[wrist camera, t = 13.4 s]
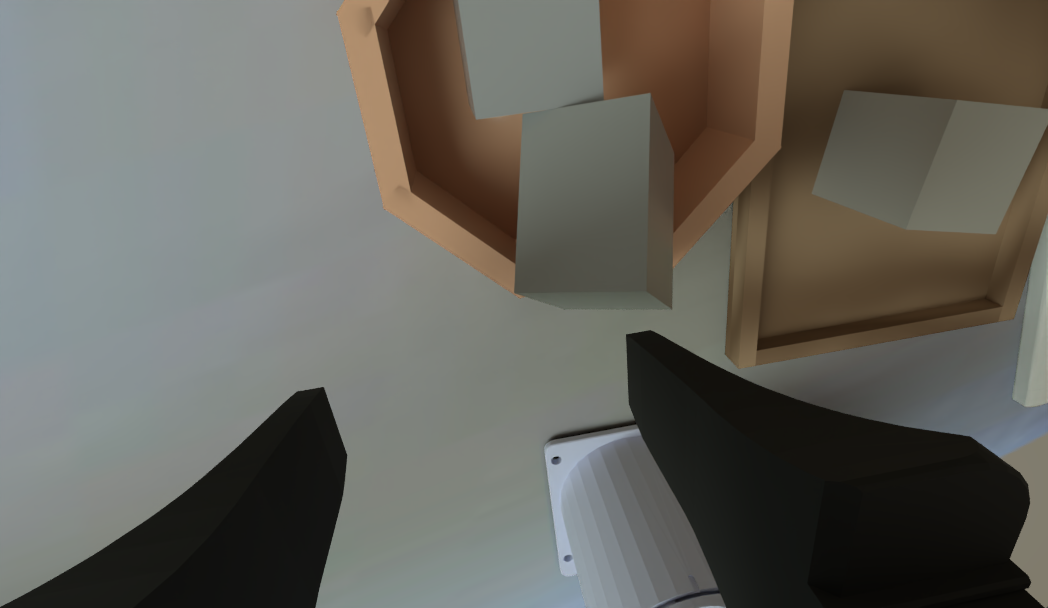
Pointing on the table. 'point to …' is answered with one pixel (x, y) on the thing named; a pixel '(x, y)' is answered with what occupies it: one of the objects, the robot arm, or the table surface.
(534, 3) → the stone
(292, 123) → the table surface
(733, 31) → the bowl
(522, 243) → the stone
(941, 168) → the stone
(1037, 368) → the external hard drive
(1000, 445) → the table surface
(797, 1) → the tray
